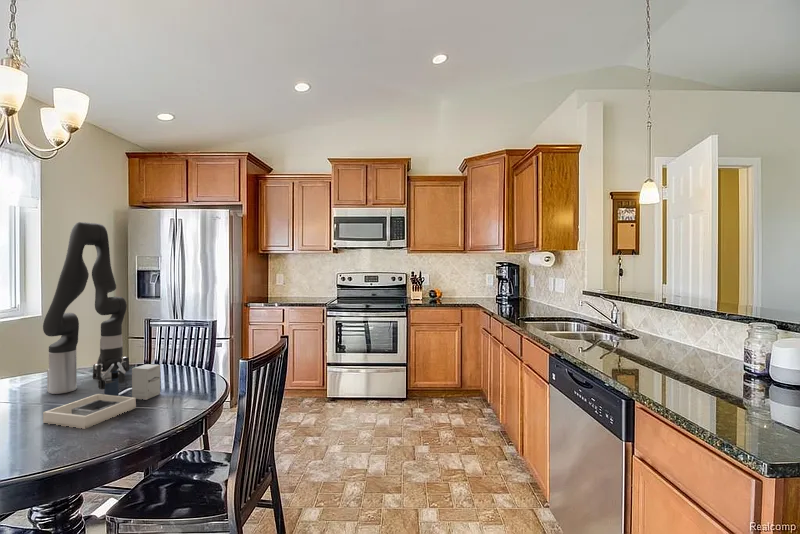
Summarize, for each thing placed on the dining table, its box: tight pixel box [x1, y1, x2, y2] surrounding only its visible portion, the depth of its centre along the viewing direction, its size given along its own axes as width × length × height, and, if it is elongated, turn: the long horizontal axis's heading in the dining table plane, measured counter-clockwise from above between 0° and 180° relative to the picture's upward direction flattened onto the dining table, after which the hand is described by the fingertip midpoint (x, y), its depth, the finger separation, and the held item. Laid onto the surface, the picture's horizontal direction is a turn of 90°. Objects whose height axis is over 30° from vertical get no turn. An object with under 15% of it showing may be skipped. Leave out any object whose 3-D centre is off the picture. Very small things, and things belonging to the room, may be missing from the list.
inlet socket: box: [72, 400, 120, 416], centre depth 150 cm, size 10×10×3 cm
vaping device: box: [103, 370, 120, 396], centre depth 168 cm, size 3×5×12 cm, turn 161°
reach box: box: [42, 393, 137, 430], centre depth 150 cm, size 18×20×4 cm
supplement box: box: [131, 363, 161, 401], centre depth 171 cm, size 7×7×13 cm
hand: (111, 385), depth 168 cm, fingers open, 8 cm apart
